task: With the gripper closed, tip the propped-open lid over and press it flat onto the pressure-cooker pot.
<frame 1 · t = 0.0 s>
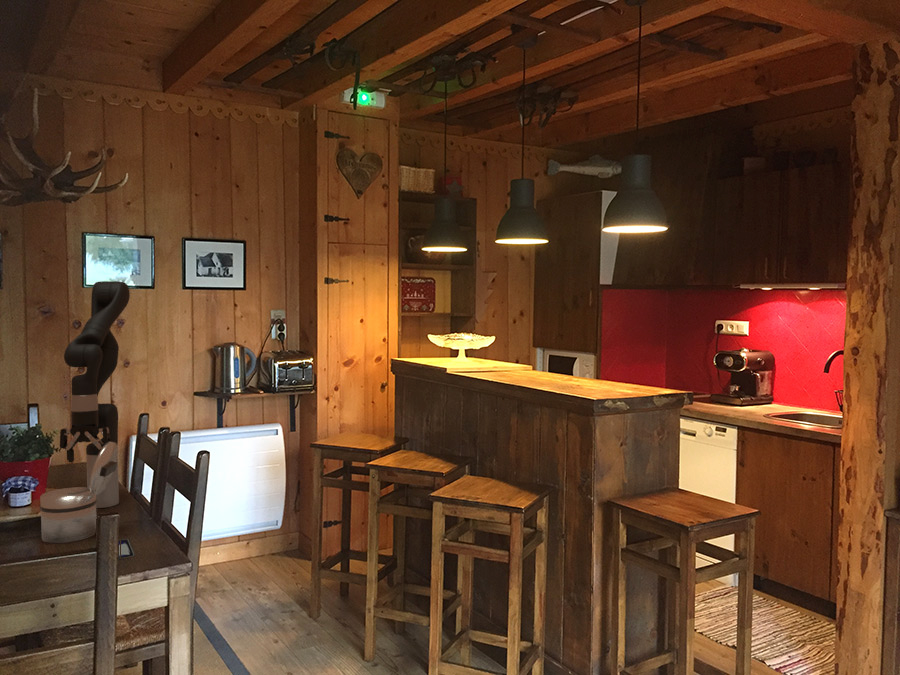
hand: (85, 461, 228), 17 cm above the table, tool pointing down, fingers open, 8 cm apart
pot: (69, 534, 211), on the table
smartphone: (116, 553, 197), on the table
lid: (106, 468, 211), point 19 cm above the table, hinge at 105.0°
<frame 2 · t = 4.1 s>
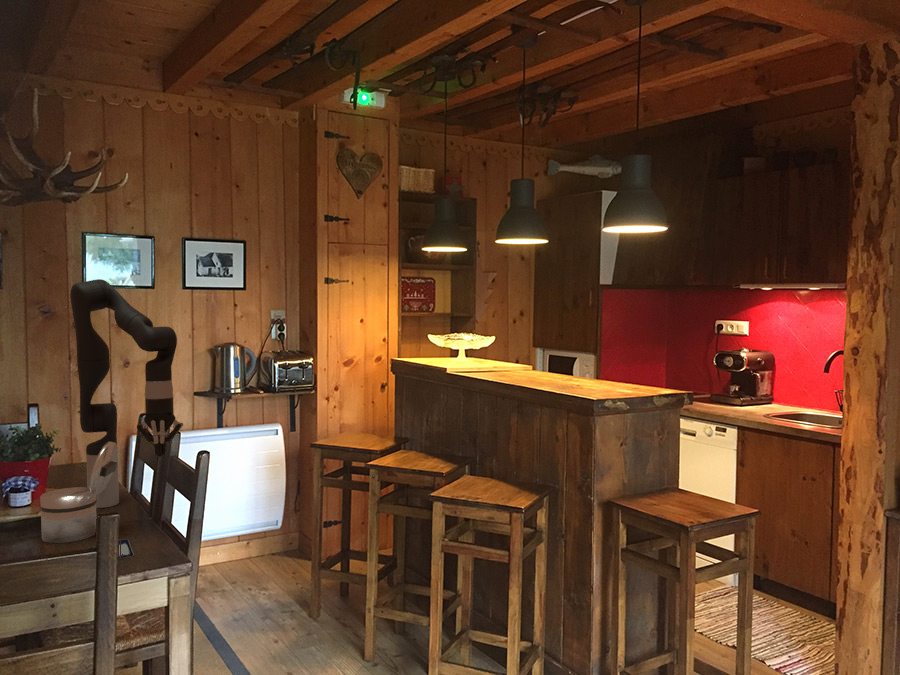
hand: (160, 455, 213), 22 cm above the table, tool pointing down, fingers closed
nothing on the table moved.
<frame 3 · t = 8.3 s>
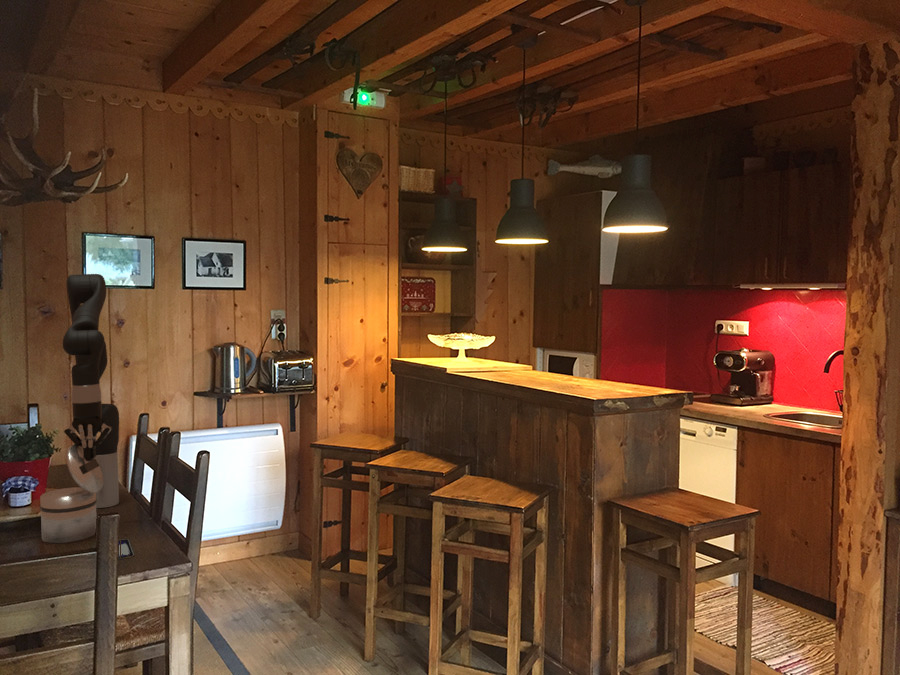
hand: (89, 460, 212), 21 cm above the table, tool pointing down, fingers closed
lid: (87, 467, 210), point 19 cm above the table, hinge at 64.3°, touching gripper, hand
everything else where it was.
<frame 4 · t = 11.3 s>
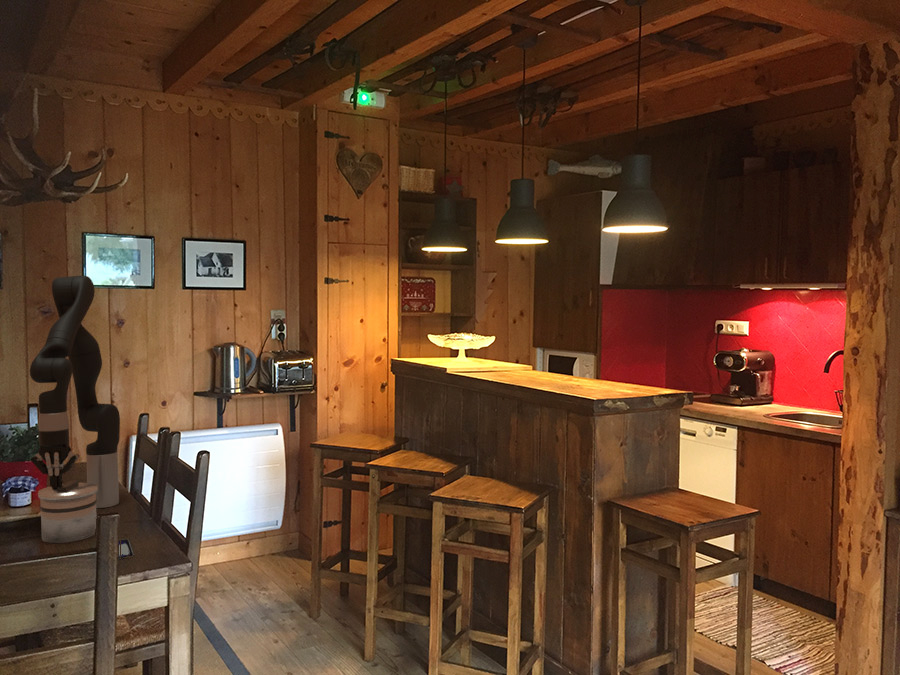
hand: (56, 488, 211), 13 cm above the table, tool pointing down, fingers closed
lid: (68, 488, 210), point 13 cm above the table, hinge at 0.3°, touching gripper
everything else where it was.
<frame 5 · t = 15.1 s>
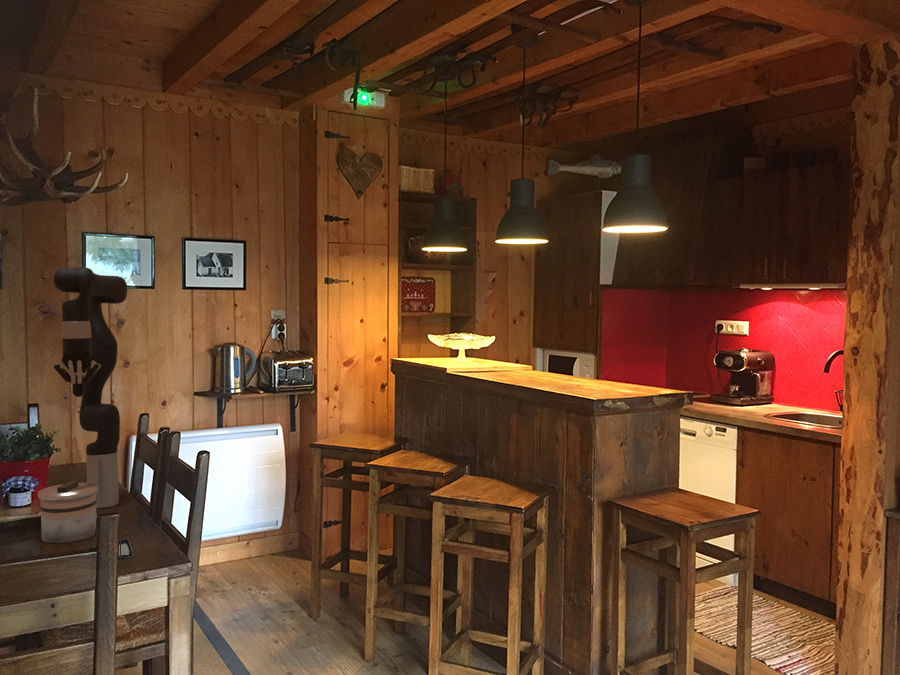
hand: (78, 396, 214), 39 cm above the table, tool pointing down, fingers closed
lid: (68, 488, 210), point 13 cm above the table, hinge at 0.0°, touching pot
everything else where it was.
at the end: lid at +0° (first picture: +105°); smartphone moved 0.6 cm from its start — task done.
